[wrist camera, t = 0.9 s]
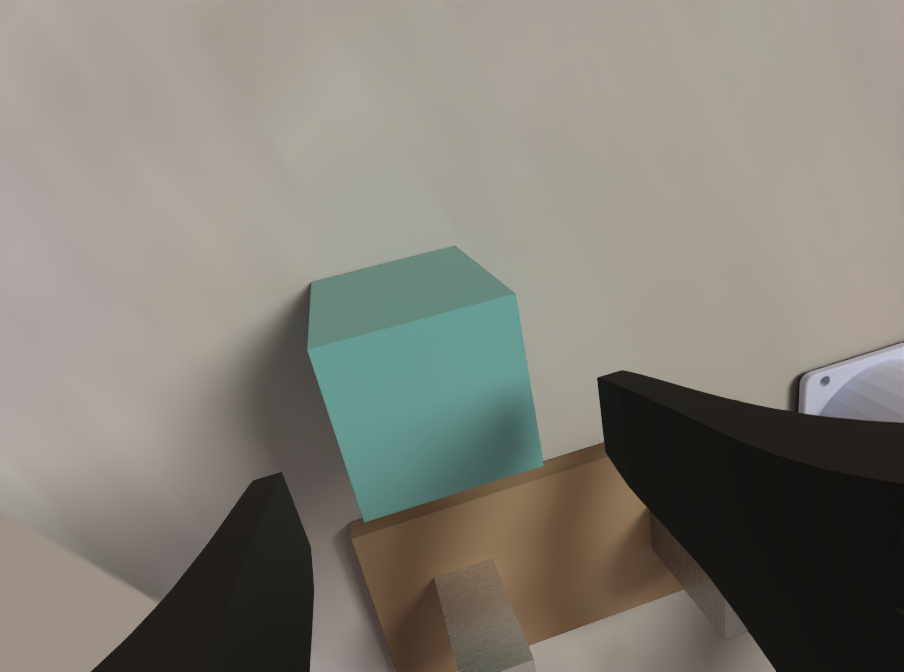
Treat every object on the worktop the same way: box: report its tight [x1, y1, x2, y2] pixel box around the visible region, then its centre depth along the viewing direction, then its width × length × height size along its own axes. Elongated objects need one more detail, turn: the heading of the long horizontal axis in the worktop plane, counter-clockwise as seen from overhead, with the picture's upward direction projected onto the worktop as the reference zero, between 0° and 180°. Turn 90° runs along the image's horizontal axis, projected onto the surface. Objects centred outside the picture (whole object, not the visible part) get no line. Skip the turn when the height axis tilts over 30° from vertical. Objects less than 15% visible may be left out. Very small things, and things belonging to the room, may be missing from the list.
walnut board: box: [350, 400, 738, 672], centre depth 25 cm, size 18×9×1 cm, turn 101°
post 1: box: [434, 558, 536, 672], centre depth 22 cm, size 3×3×5 cm
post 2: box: [649, 510, 748, 640], centre depth 23 cm, size 3×3×5 cm
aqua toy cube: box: [307, 246, 544, 522], centre depth 17 cm, size 5×5×7 cm
